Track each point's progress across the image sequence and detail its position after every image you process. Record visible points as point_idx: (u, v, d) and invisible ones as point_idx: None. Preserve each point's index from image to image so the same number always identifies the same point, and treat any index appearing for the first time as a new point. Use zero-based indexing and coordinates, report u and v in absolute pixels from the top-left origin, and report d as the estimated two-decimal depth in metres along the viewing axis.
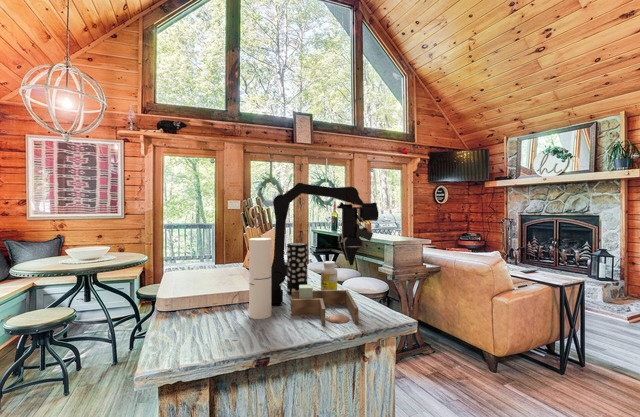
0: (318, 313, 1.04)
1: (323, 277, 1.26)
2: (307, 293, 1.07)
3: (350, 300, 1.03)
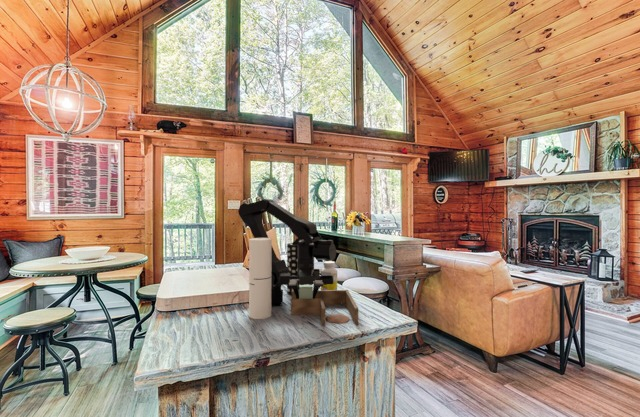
0: (318, 313, 1.04)
1: None
2: (307, 293, 1.07)
3: (350, 300, 1.03)
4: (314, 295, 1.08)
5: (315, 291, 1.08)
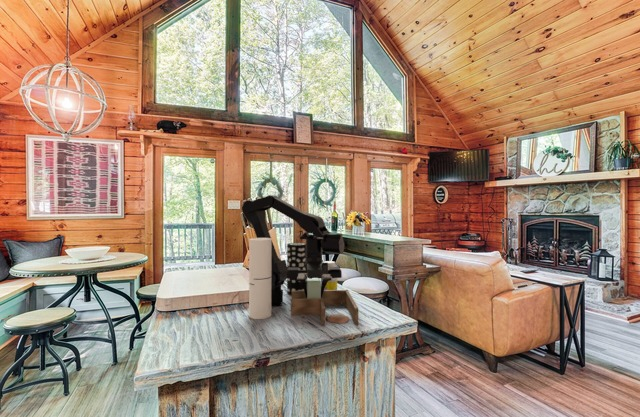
0: (318, 313, 1.04)
1: None
2: (315, 287, 1.07)
3: (350, 300, 1.03)
4: (322, 289, 1.08)
5: (323, 285, 1.08)
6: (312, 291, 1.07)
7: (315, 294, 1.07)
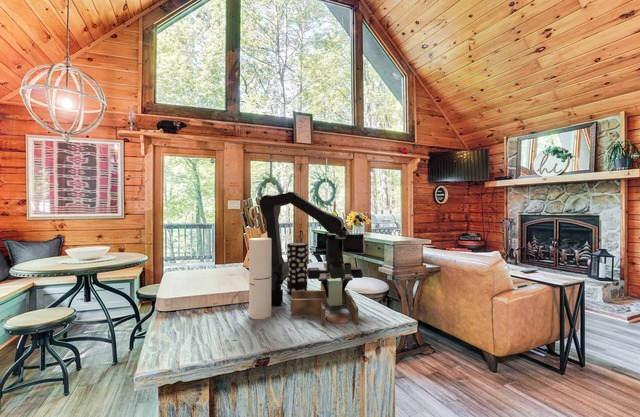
0: (318, 313, 1.04)
1: None
2: (337, 287, 1.07)
3: (350, 300, 1.03)
4: (343, 289, 1.09)
5: (344, 285, 1.08)
6: (333, 291, 1.07)
7: (336, 294, 1.07)
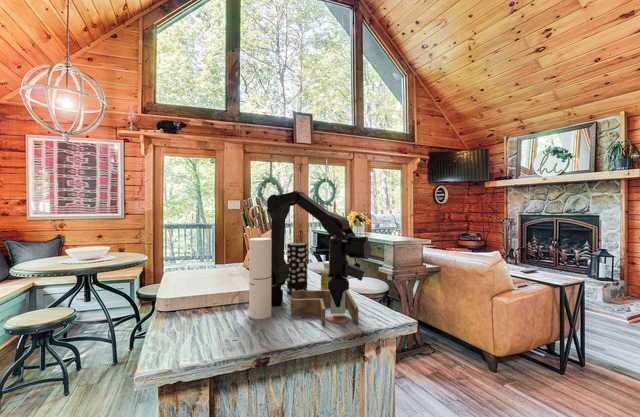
0: (318, 313, 1.04)
1: (323, 277, 1.26)
2: None
3: (350, 300, 1.03)
4: None
5: None
6: None
7: None
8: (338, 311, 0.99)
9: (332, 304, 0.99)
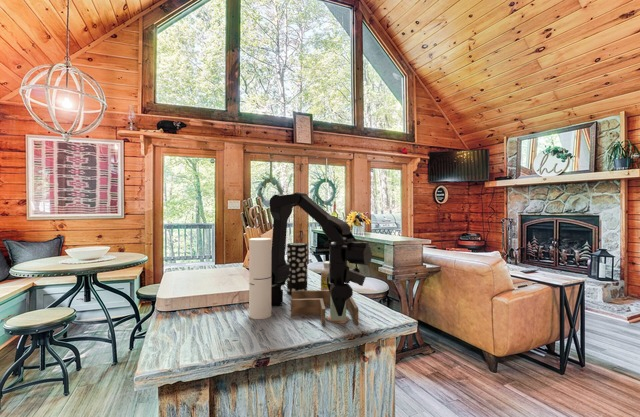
0: (318, 313, 1.04)
1: (323, 277, 1.26)
2: None
3: (350, 300, 1.03)
4: None
5: None
6: None
7: None
8: (339, 318, 0.97)
9: (333, 311, 0.97)
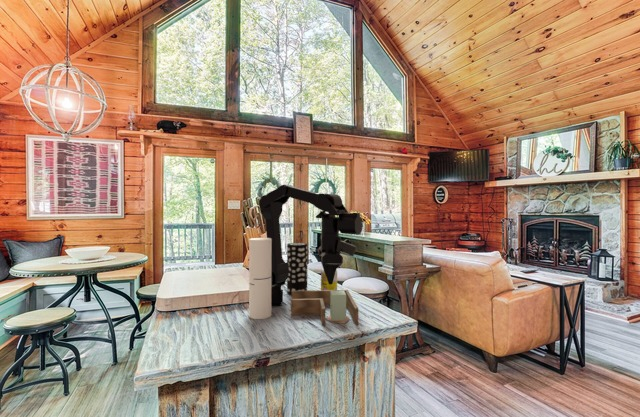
0: (318, 313, 1.04)
1: (323, 277, 1.26)
2: None
3: (350, 300, 1.03)
4: None
5: None
6: None
7: None
8: (339, 318, 0.97)
9: (333, 311, 0.97)
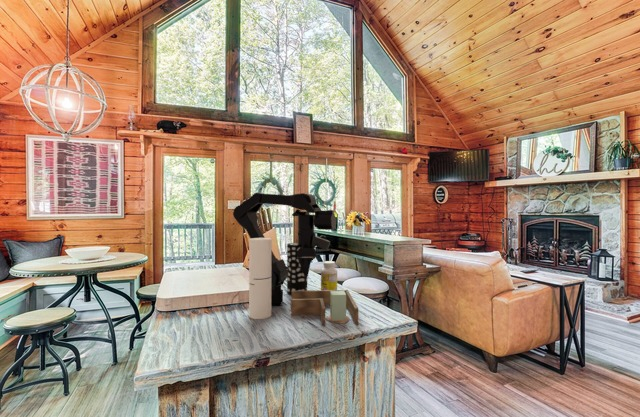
0: (318, 313, 1.04)
1: (323, 277, 1.26)
2: None
3: (350, 300, 1.03)
4: None
5: None
6: None
7: None
8: (339, 318, 0.97)
9: (333, 311, 0.97)
